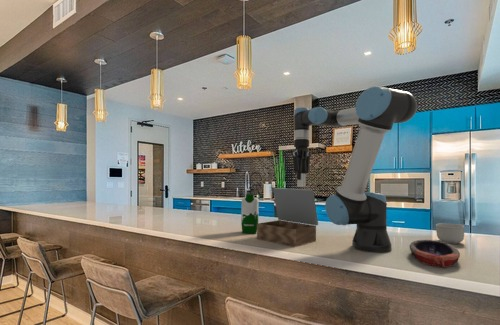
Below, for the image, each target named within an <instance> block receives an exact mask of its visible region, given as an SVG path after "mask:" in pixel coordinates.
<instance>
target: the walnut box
mask: <svg viewBox="0 0 500 325" xmlns="http://www.w3.org/2000/svg"><path fill="white" fill-rule="evenodd" d="M256 239H257V240H262V241H267V242H272V243H276V244H281V245H285V246H288V247H289V246H290V247H293V248H294V247H295V248H296V247H299V246H303V245H306V244H311V243H314V242H317V225H311V224H304V223H297V222H290V221H284V220H278V219H277V220H271V221H266V222H265V221H264V222H260V223H259V222H258V224H257V232H256Z"/></svg>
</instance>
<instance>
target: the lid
mask: <svg viewBox="0 0 500 325" xmlns="http://www.w3.org/2000/svg"><path fill="white" fill-rule="evenodd" d="M272 191H273V197H274V203H275V208H276V209H275V210H276V216H277V220H281V221H288V222H294V223H301V224H308V225H314V226H318V225H319V220H318V215H317V214H318V213H317V208H316V200H315V194H314V189H306V188H304V189H303V188H285V187H273V188H272Z"/></svg>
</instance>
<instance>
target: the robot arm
mask: <svg viewBox="0 0 500 325" xmlns="http://www.w3.org/2000/svg"><path fill="white" fill-rule="evenodd" d="M417 102H418V101H417V99H416V98H415V96H414V95H413V94H412V93H410V92H408V91H405V90H400V89H394V88H388V87H385V86H371V87H368V88H366V89H365V90H363V91H362V92H361V93H360V94H359V96H358V98H357V100H356V102H355V107H349V108H345V109H340V110H329V109H325V108H324V107H323V106H317V107H316V106H315V107H313V108H310V109H309V107H303V106H301V107H297V108H295V109H294V112H293V114H294V115H293V139H294V140H293V147H294V148H295V149H294V151H292V152H291V155H292V156H291V157H292V164H293V172H294V173H295V174H296V180H297V182H296V184H297V185H296V187H298V188H299V187H307V185H306V184H307V183H306V182H307V181H306V180H307V174H308V173H309V171H310V164H311V163H310V160H311V156H312V154H311V152H310V153H309V152H308V148H310V140H309V139H310V126H324V127H335V128H344V127H346V126H353V125H359V126H360V128H359V131H358V135H357V136H356V141H355V143H354V147H353V149H352V152H351V156H350V159H349V162H348V166H347V169H346V172H345V175H344V177H343V181H342V184H341V185H339V186H337V187H336V189H335V193H334V194H332V195H330V196H328V197H327V198H326V200H325V203H324V204H325V205H324V208H325V209H324V210H325V212H326V215H327V218H328V220H329V221H330V222H331V223H333V224H334V225H336V226H347V225H348V226H349V225H356V229H355V231H354V232H355V233H354V235H353V237H352V240H351V241H352V243H351V245H352V246H351V247H352V248H354V249H356V250H359V251H363V252H370V253H388V252H391V251H392V249H393V248H392V243H391V240H390V236H389V233H388V231H387V230H388V228H387V224H388V223H387V222H388V221H387V218H388V216H387V206H388V204H387V197H386V195H385V194H383V193H379V192H370V191H366V189H367V186H368V183H369V180H370V177H371V174H372V171H373V168H374V165H375V163H376V160H377V158H378V154H379V151H380V149H381V145H382V143H383V140H384V138H385V134H386V133H389V132H390V131H392V128H393V126H394V124H403V123H406V122H408V121H410V120H411V119H412V118H413V117H415V115H416V113H417V110H418V103H417Z"/></svg>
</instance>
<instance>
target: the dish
mask: <svg viewBox="0 0 500 325" xmlns="http://www.w3.org/2000/svg"><path fill="white" fill-rule="evenodd" d="M409 250H410V253H411V255H412V256H413V258H414V259H416V260H417V261H419V262H421V263H422V264H426V265H428V266H433V267H436V268H448V267H452V266H454V265H456V264H457V263H458V261H459V258H460V256H461V253H460V251H459V249H457V248H456V247H455V246H453V244H449V242H446V243H444V242H442V241H441V240H433V239H419V240H414V241H412V242H411V243H410V244H409Z"/></svg>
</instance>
